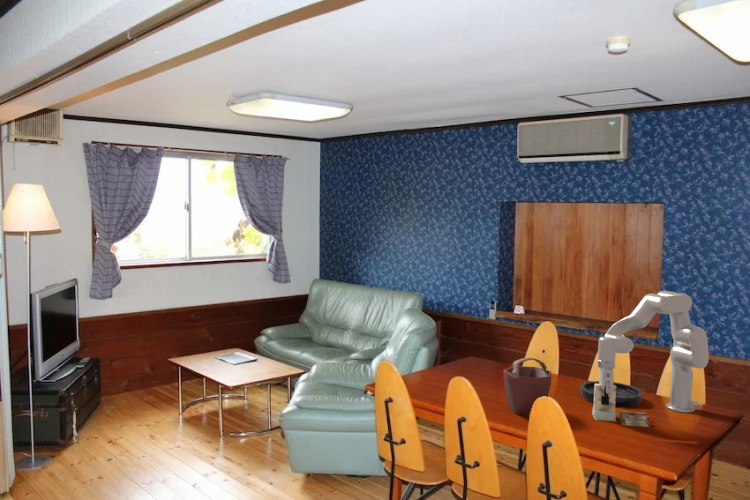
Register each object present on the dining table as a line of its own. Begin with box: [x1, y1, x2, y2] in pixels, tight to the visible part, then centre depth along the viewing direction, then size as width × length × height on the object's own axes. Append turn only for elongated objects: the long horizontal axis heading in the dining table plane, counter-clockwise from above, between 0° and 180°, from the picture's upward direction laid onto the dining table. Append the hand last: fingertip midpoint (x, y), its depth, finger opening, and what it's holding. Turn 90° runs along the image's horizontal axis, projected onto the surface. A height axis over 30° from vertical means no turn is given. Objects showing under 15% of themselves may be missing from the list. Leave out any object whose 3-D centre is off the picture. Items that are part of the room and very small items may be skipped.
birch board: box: [592, 384, 616, 414], centre depth 288 cm, size 9×2×14 cm, turn 80°
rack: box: [617, 410, 652, 428], centre depth 282 cm, size 12×10×4 cm
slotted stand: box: [591, 410, 617, 422], centre depth 288 cm, size 9×8×4 cm
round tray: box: [579, 380, 644, 408], centre depth 320 cm, size 30×6×30 cm
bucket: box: [502, 357, 552, 417], centre depth 299 cm, size 24×22×25 cm
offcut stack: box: [625, 416, 649, 428], centre depth 279 cm, size 9×3×3 cm, turn 80°
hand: (604, 403), depth 288 cm, fingers closed on birch board, 2 cm apart
